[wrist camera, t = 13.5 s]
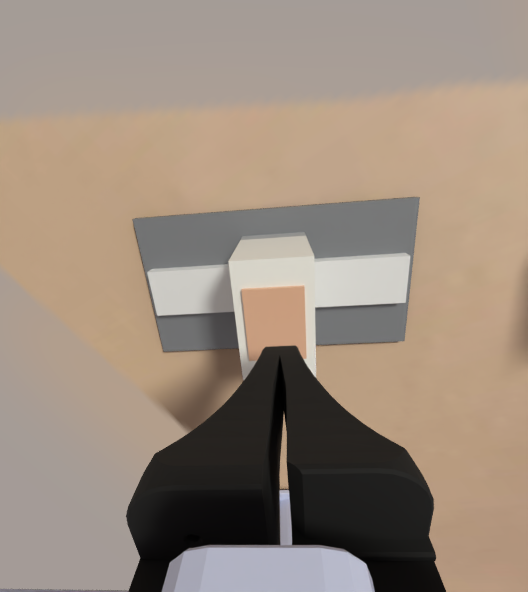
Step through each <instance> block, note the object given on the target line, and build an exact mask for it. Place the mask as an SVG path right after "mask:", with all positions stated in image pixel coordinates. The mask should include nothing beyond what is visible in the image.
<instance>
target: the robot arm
mask: <svg viewBox="0 0 528 592" xmlns="http://www.w3.org/2000/svg"><path fill="white" fill-rule="evenodd" d="M284 414H285V422H286V430H287V471H288V485H289V490H280V482H279V471H280V453H281V441H282V428H283V416H284ZM433 510H434V501H433V497H432V494H431V492H430V489H429V487H428V485H427V483H426V481H425V479H424V477H423V475H422V474H421V472H420V470H419V469H418V467H417V466H416V464H415V462H414V461H413V459H412V458H411V456H410V455H409V453H408V452H407V450H406V449H405V448H403V447H401V446H399V445H398V444H396V443H394V442H392V441H391V440H389V439H387V438H385V437H383V436H382V435H380V434H378V433H377V432H375V431H374V430H372V429H371V428H369V427H368V426H366V425H365V424H363V423H362V422H360V421H359V420H358V419H357V418H355V417H354V416H353V415H352V414H350V413H349V412H348V411H346V410H345V409H344V408H343V407H342V406H341V405H340V404H339V403H338V402H337V401H336V400H335V399H334V398H333V397H332V396H331V395H330V394H329V393H328V392H327V391H326V390H325V389H324V387H323V386H322V385H321V384H320V383H319V381H318V380H317V379H316V377H315V376H314V375H313V373H312V372H311V370H310V369H309V368H308V366H307V364H306V363H305V361H304V359H303V358H302V356H301V354H300V351H299V349H298V347H297V346H296V345H293V346H271V347H265V348H264V349H263V350H262V352H261V354H260V356H259V358H258V360H257V362H256V363H255V365H254V367H253V368H252V370H251V371H250V373H249V374H248V376H247V377H246V379H245V380H244V381H243V382H242V384H241V385H240V386H239V388H238V389H237V390H236V391H235V393H234V394H233V395H232V396H231V397H230V398H229V399H228V400H227V401H226V403H225V404H224V405H223V406H222V407H221V408H220V409H218V410H217V411H216V412H215V413H214V414H213V415H212V416H211V417H210V418H208V419H207V420H206V421H205V422H203V423H202V424H201V425H200V426H198V427H197V428H196V429H194V430H193V431H191V432H190V433H188V434H187V435H186V436H184V437H183V438H181V439H179V440H178V441H176V442H174V443H173V444H171V445H169V446H168V447H166V448H164V449H163V450H161V451H159V452H157V453H156V454H155V455H154V456H153V458H152V460H151V462H150V463H149V465H148V466H147V468H146V470H145V472H144V474H143V476H142V477H141V480H140V482H139V484H138V486H137V488H136V491H135V493H134V495H133V497H132V499H131V502H130V504H129V506H128V510H127V515H126V517H127V522H128V527H129V529H130V532H131V534H132V537H133V540H134V542H135V545H136V548H137V550H138V553H139V555H140V561H139V564H138V567H137V569H136V572H135V575H134V578H133V580H132V583H131V586H130V589H129V591H126V590H125V591H122V590H54V589H50V590H49V589H45V590H44V589H0V592H446V590H445V588H444V585H443V583H442V580H441V577H440V575H439V572H438V570H437V567H436V565H435V562H434V561H435V560H436V555H435V551H434V548H433V546H432V544H431V541H430V539H429V531H430V526H431V520H432V515H433Z"/></svg>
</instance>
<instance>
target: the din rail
mask: <svg viewBox="0 0 528 592" xmlns="http://www.w3.org/2000/svg"><path fill="white" fill-rule="evenodd" d="M419 199H420V197H407V198H394V199H381V200H368V201H355V202H342V203H329V204H315V205H302V206H289V207H276V208H263V209H250V210H237V211H224V212H211V213H197V214H184V215H171V216H158V217H145V218H135V219H133V223H134V227H135V232H136V236H137V240H138V244H139V249H140V253H141V257H142V261H143V266H144V270H145V274H146V278H147V283H148V287H149V291H150V296H151V300H152V304H153V308H154V313H155V317H156V321H157V325H158V330H159V334H160V338H161V342H162V347H163V351H164V352H165V351H188V350H211V349H234V348H239V344H238V336H237V327H236V319H235V311H234V303H233V295H232V287H231V279H230V271H229V263H228V261H229V259H230V258H231V256H232V254H233V252H234V250H235V249H236V247H237V245H238V243H239V242H240V240H241V238H242V236H253V235H268V234H283V233H297V232H305V235H306V237H307V239H308V242H309V244H310V247H311V249H312V252H313V254H314V267H315V334H316V345H327V344H350V343H373V342H396V341H404V339H405V330H406V321H407V311H408V302H409V293H410V283H411V274H412V265H413V255H414V246H415V237H416V227H417V218H418V209H419Z"/></svg>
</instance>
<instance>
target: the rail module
mask: <svg viewBox="0 0 528 592" xmlns="http://www.w3.org/2000/svg"><path fill="white" fill-rule="evenodd" d="M228 263H229V271H230V279H231V287H232V295H233V303H234V311H235V319H236V327H237V336H238V344H239V352H240V360H241V368H242V376H243V381H244V380H245V379H246V377H247V376H248V374H249V373H250V371H251V370H252V368H253V367H254V365H255V363H256V362H257V360H258V358H259V356H260V354H261V352H262V350H263V349H264V348H265V347H271V346H293V345H296V346H297V347H298V349H299V351H300V354H301V356H302V358H303V359H304V361H305V363H306V364H307V366H308V368H309V369H310V370H311V372H312V373H313V375H314V376H315V377H316V334H315V267H314V254H313V252H312V249H311V247H310V244H309V242H308V239H307V237H306V235H305V232H297V233H283V234H268V235H253V236H242V238H241V240H240V242H239V243H238V245H237V247H236V249H235V250H234V252H233V254H232V256H231V258H230V259H229V261H228Z"/></svg>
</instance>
